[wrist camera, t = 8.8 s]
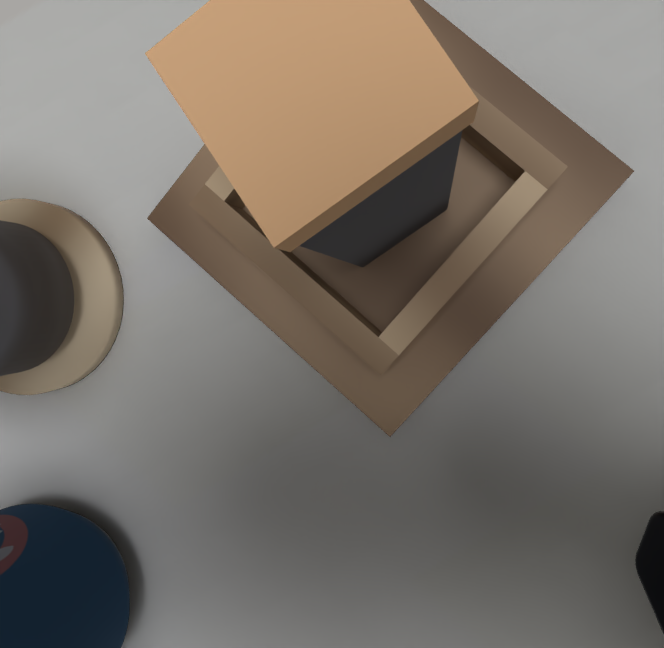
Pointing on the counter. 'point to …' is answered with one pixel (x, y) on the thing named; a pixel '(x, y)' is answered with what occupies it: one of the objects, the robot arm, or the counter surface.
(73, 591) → the soda can
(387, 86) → the grey square peg
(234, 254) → the square recessed board
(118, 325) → the bobbin
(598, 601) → the counter surface
